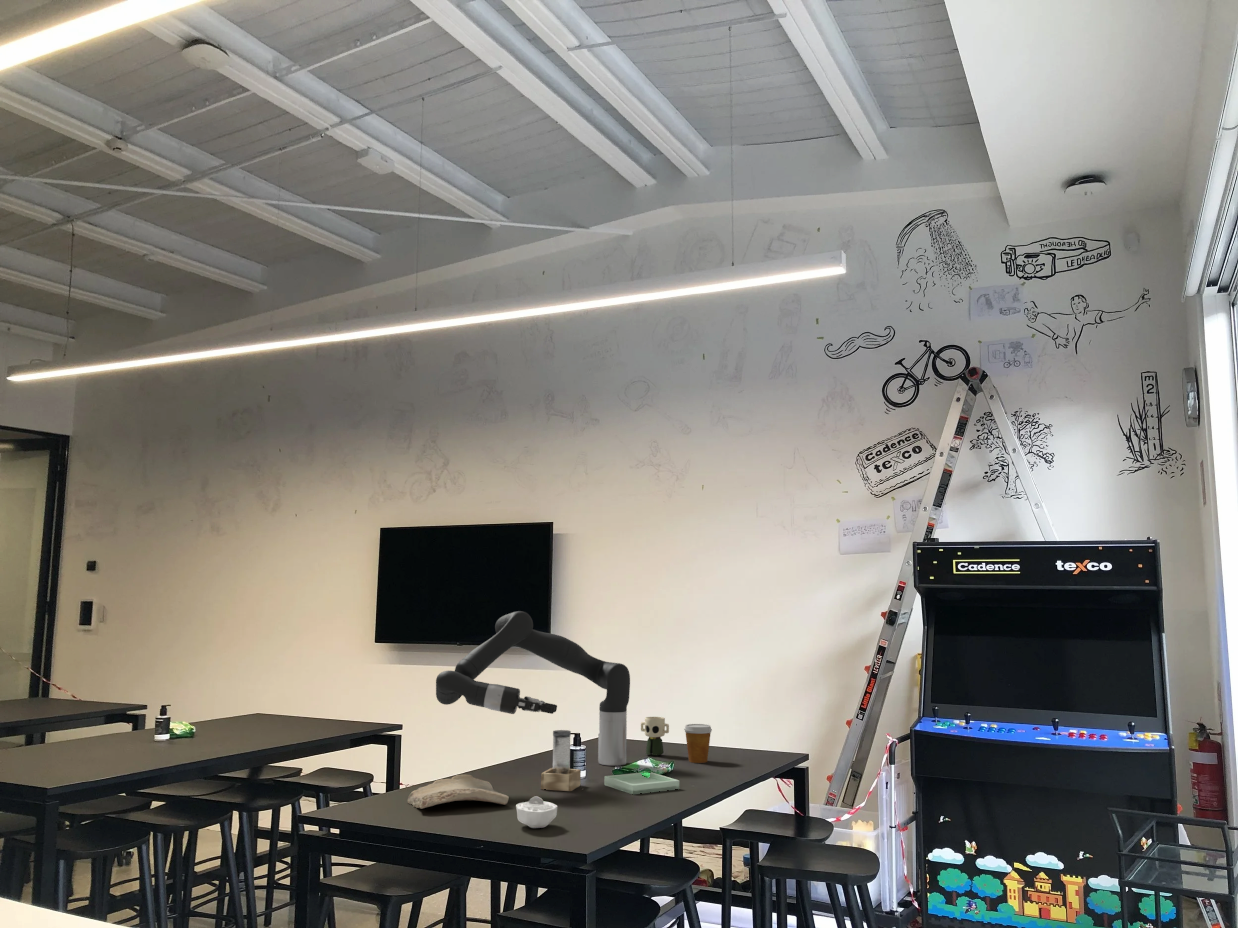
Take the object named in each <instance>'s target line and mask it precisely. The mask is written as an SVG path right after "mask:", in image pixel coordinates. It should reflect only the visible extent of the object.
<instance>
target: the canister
mask: <svg viewBox="0 0 1238 928" xmlns="http://www.w3.org/2000/svg"><path fill="white" fill-rule="evenodd" d="M571 732H572V731H571V730H570V729H569V730H567V729H560V730H559V729H557V730H553V731H552V736H553V738H552V768H553V773H555V774H570V769H571V734H572V733H571Z"/></svg>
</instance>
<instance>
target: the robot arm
mask: <svg viewBox="0 0 1238 928" xmlns="http://www.w3.org/2000/svg"><path fill="white" fill-rule="evenodd" d="M533 621H534V620H533V619H532V617H531V615H530V614H529V613H528V612H526V611H521V610H518V611H513V612H510V613H508V614H507V613H506V614H505V615H502V616H501V617H499V618H498V619H497V620H496V622H495V625H494V629H495V634H494V635H492V637H490V638H489V639H487V640H486V641H484V642H483V643H481V644H480V645H478V646H477V647H475V648H474V649H472V650H471V651H469V653H467V654H466V655H465V656H464V657H463V658H462V659H461V660H459V661H458V663H457V664H455V668H454V670H444V671H441V672H440V673H439V674H438V675H437V676H436V679H435V696H436V700H437V701H438V702H439V703H440V704H442V705H452V704H455V703H456V702H457V701H458V700H460V699H461V697H462V696H463V697H464V699H465V702H466V703H467V704H468V705H471V706H476V707H481V708H484V709H487V710H488V709H489V710H491V711H495V712H500V713H505V714H510V715H514V714H516V712H517V710H518V709H521V710H522V711H525V712H532V713H534V712H535V713H540V712H542V713H547V714H551V715H552V714H554V713H556V712H557V708H558V705H557V704H554V703H550V702H545V701H544V700H542V699H541V700H540V699H538V698H536V697H535V698H533V697H531V696H528V695H527V696H526V695H525V696H524V697H520V695H521V690H520V689H519V688H516V687H513V686H508V685H503V684H498V683H497V684H496V683H488V682H483V681H479V680H476V678H477V677H478V676H479V675H481V674H482V673H484V671H485V670H486V669H487V668H488V667H490V666H491V664H493V663H494V662H495V661H496V660H497V659H498V658H499V657H501V656H502V655H503V654H504V653H505V652H507V651H509V650H510V649H511V648H512V647H514V646H515V647H517V648H520V649H522V650H525V651H527V652H530V653H532V654H534V655H536V656H538V657H539V658H542V659H544V660H546V661H548V662H550V663H551V664H553V665H556V666H557V667H560V668H562V669H564V670H566V671H569V672H571V673H574V674H577V675H579V676H582V677H584V678H586V679H588V680H589V681H590V682H593V684H595V685H597V686H598V687H599V688H601V689H604V690H606V695H605V698H604V699H603V700H602V701H600V702H599V710H598V711H599V713H598V715H599V717H598V718H599V723H598V724H599V728H598V730H599V732H598V739H597V741H598V742H597V745H598V746H597V747H598V748H597V751H598V752H597V762H598V764H599V765H603V766H624V765H626V764H627V734H628V733H627V731H628V730H627V722H628V721H627V718H628V716H627V715H628V713H627V712H628V711H627V709H628V708H627V707H628V705H629V702H630V690H631V675H630V670H629V668H628V667H627V666H626V665H625V664H624V663H620V662H611V661H610V662H609V661H605V660H602V659H600V658H597V657H594V656H592V655H591V654H589V653H588V652H587V651H586V650H585V649H584V648H583V647H582V646H581V645H579V644H578V643H577V642H575V641H573V640H571V639H569V638H567V637H564V636H561V635H558V634H555V633H550V632H543V631H539V630H536V629H533V628H534V622H533Z"/></svg>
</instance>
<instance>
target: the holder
mask: <svg viewBox="0 0 1238 928" xmlns="http://www.w3.org/2000/svg"><path fill="white" fill-rule="evenodd" d="M581 773H582V771H581V769H575V768H570V774H555V773H553V767H550V768H549V769H546V770H545V771H543V772H541V774H540V775H541V776H540V777H541V778H540V790H544V789H546V791H564V792H572V791H574V790H575V789H577V788H579V787H580V786H581V778H582V777H581V776H582V775H581Z"/></svg>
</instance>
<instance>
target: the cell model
mask: <svg viewBox="0 0 1238 928" xmlns="http://www.w3.org/2000/svg"><path fill="white" fill-rule="evenodd" d="M515 809H516V817H517V821H518V822H520V823H522V825H525V826H528V827H529V828H531V829H540V828H541V829H542V828H545V827H547V826H548V825H550V824H551V823H552V821H553V820H554V819H556V817H557V816H558V815H557V814H558V805H557V804H555V803H553V802H549V801H544V800H543V799H542V797H539V796H537V795H536V796H535V795H534V796H533V797H531V798H530V799H529V800H528V801H525V802H524V801H522V802H519V803H517V804H516V805H515Z"/></svg>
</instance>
